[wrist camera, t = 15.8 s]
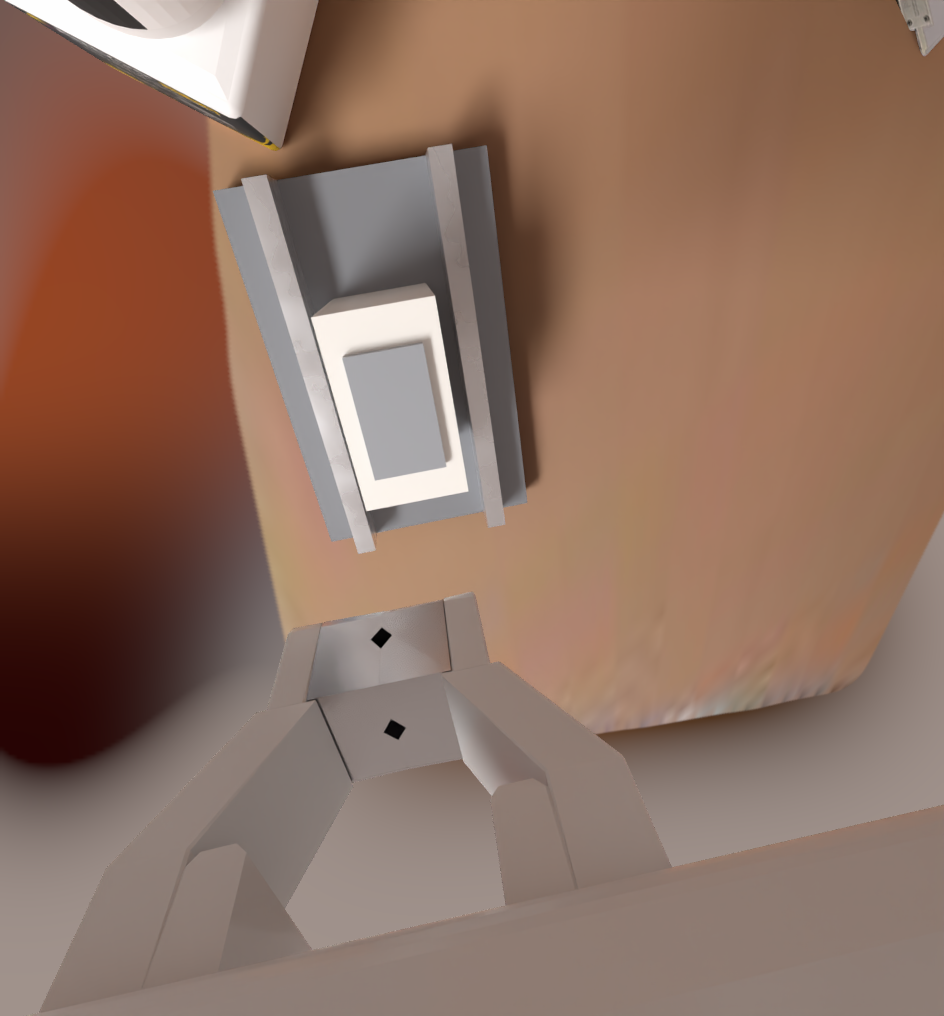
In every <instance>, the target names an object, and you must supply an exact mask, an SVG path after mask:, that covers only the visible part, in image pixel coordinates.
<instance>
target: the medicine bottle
mask: <svg viewBox="0 0 944 1016" xmlns="http://www.w3.org/2000/svg"><path fill="white" fill-rule="evenodd" d="M4 1H6V2H7V3H9V4H11V5H12V6H14V7H15V8H17V9H19V10H20V11H22V12H24V13H25V14H27V15H28V16H30V17H32V18H33V19H35V20H36V21H38V22H40V23H41V24H43V25H44V26H46V27H48V28H49V29H51V30H53V31H54V32H56V33H57V34H59V35H61V36H62V37H64V38H65V39H67V40H69V41H70V42H72V43H74V44H75V45H77V46H78V47H80V48H81V49H83V50H85V51H87V52H88V53H90V54H91V55H93V56H94V57H96V58H98V59H99V60H101V61H102V62H104V63H106V64H107V65H109V66H111V67H113V68H115V69H117V70H118V71H120V72H122V73H124V74H126V75H128V76H130V77H132V78H134V79H136V80H138V81H140V82H142V83H144V84H145V85H148V86H150V87H151V88H153V89H155V90H157V91H159V92H161V93H163V94H165V95H167V96H169V97H171V98H172V99H175V100H176V101H178V102H180V103H182V104H184V105H186V106H188V107H190V108H192V109H194V110H196V111H198V112H200V113H202V114H203V115H205V116H207V117H209V118H211V119H213V120H215V121H217V122H219V123H221V124H223V125H225V126H227V127H229V128H231V129H232V130H234V131H236V132H238V133H240V134H242V135H244V136H246V137H248V138H250V139H252V140H254V141H256V142H258V143H260V144H261V145H263V146H265V147H267V148H269V149H271V150H275V151H277V150H279V149H281V147H282V145H283V141H284V137H285V133H286V129H287V125H288V121H289V117H290V113H291V109H292V105H293V101H294V97H295V93H296V89H297V85H298V81H299V77H300V73H301V69H302V65H303V61H304V57H305V53H306V49H307V45H308V41H309V37H310V33H311V29H312V25H313V21H314V17H315V13H316V9H317V5H318V1H319V0H4Z"/></svg>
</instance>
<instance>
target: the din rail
mask: <svg viewBox="0 0 944 1016" xmlns="http://www.w3.org/2000/svg"><path fill="white" fill-rule="evenodd" d="M425 158H426V164H427V170H428V176H429V182H430V189H431V195H432V201H433V207H434V213H435V219H436V225H437V232H438V238H439V244H440V250H441V256H442V262H443V268H444V274H445V281H446V287H447V293H448V299H449V305H450V311H451V317H452V324H453V330H454V336H455V342H456V348H457V354H458V360H459V367H460V373H461V379H462V385H463V391H464V397H465V403H466V410H467V416H468V422H469V428H470V434H471V440H472V446H473V453H474V459H475V465H476V471H477V477H478V483H479V489H480V496H481V502H482V508H483V513H484V516H485V519H486V522H487V525H488V528H490V527H495V526H500V525H505V518H504V511H503V504H502V496H501V489H500V482H499V475H498V468H497V461H496V454H495V447H494V440H493V432H492V425H491V418H490V411H489V404H488V397H487V390H486V383H485V375H484V368H483V361H482V354H481V347H480V340H479V333H478V326H477V319H476V311H475V304H474V297H473V290H472V283H471V276H470V269H469V262H468V254H467V247H466V240H465V233H464V226H463V219H462V212H461V205H460V198H459V190H458V183H457V176H456V169H455V162H454V155H453V148H452V144H447V145H441V146H435V147H429V148H427V151H426V154H425ZM241 181H242V184H243V187H244V190H245V193H246V197H247V200H248V203H249V206H250V209H251V213H252V216H253V219H254V222H255V225H256V228H257V232H258V235H259V238H260V241H261V244H262V248H263V251H264V254H265V257H266V260H267V264H268V267H269V270H270V273H271V276H272V280H273V283H274V286H275V289H276V292H277V296H278V299H279V302H280V305H281V308H282V312H283V315H284V318H285V321H286V324H287V327H288V331H289V334H290V337H291V340H292V343H293V347H294V350H295V353H296V356H297V359H298V363H299V366H300V369H301V372H302V375H303V379H304V382H305V385H306V388H307V391H308V395H309V398H310V401H311V404H312V407H313V411H314V414H315V417H316V420H317V423H318V427H319V430H320V433H321V436H322V439H323V442H324V446H325V449H326V452H327V455H328V458H329V462H330V465H331V468H332V471H333V474H334V478H335V481H336V484H337V487H338V490H339V494H340V497H341V500H342V503H343V506H344V510H345V513H346V516H347V519H348V522H349V526H350V529H351V532H352V535H353V538H354V541H355V545H356V548H357V551H358V554H360V553H365V552H370V551H375V550H376V541H377V530H376V527H375V523H374V520H373V516H372V513H371V510H370V511H366V508H365V504H364V501H363V497H362V494H361V490H360V487H359V483H358V480H357V476H356V473H355V469H354V466H353V462H352V459H351V455H350V452H349V448H348V445H347V441H346V438H345V434H344V431H343V428H342V424H341V421H340V417H339V414H338V410H337V407H336V403H335V400H334V396H333V393H332V389H331V386H330V382H329V379H328V375H327V372H326V368H325V365H324V361H323V358H322V354H321V351H320V347H319V344H318V340H317V337H316V333H315V330H314V326H313V323H312V319H311V317H312V316H313V315H314V314H315V313H314V309H313V306H312V302H311V299H310V295H309V292H308V288H307V285H306V281H305V278H304V274H303V271H302V267H301V264H300V260H299V257H298V253H297V249H296V246H295V242H294V239H293V235H292V232H291V228H290V225H289V221H288V218H287V214H286V211H285V207H284V204H283V200H282V197H281V193H280V190H279V186H278V183H277V180H275V179H273V178H272V177H270V176H268V175H261V176H255V177H249V178H243V179H241Z"/></svg>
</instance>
